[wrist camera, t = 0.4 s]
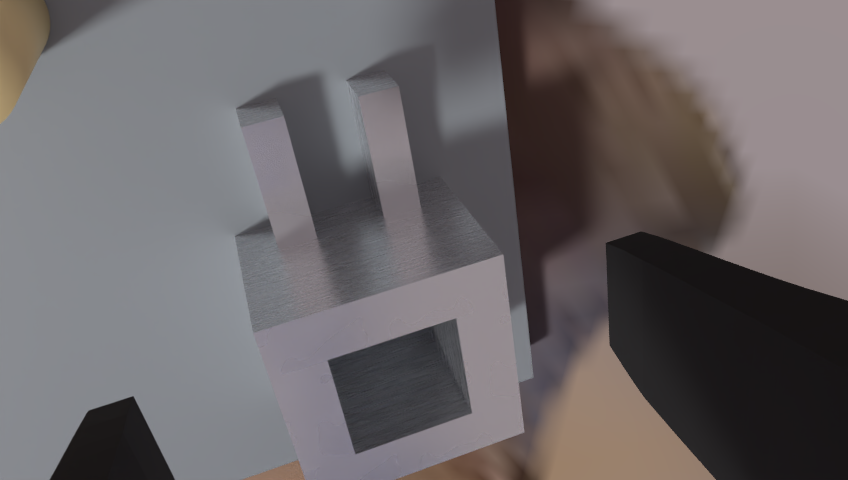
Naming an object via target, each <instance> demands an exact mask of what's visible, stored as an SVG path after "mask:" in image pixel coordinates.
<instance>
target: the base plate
mask: <svg viewBox="0 0 848 480" xmlns="http://www.w3.org/2000/svg"><path fill="white" fill-rule="evenodd" d="M380 71H385V72H386V73H387V74H388V75H389V76H390V77H391V78H392V79H393V80H394V81H395V82H396V83H397V85H398V86H399V90H400V95H401V101H402V106H403V112H404V117H405V123H406V128H407V134H408V139H409V145H410V150H411V156H412V161H413V167H414V172H415V178H416V183H420V182H424V181H427V180H431V179H434V178H438V177H441V178H442V179H443V180H444V182H445V183H446V184H447V185H448V187H449V188H450V189H451V190H452V191H453V193H454V194H455V195H456V196H457V198H458V199H459V200H460V201H461V203H462V204H463V205H464V206H465V208H466V209H467V210H468V211H469V212H470V214H471V215H472V216H473V217H474V219H475V220H476V221H477V222H478V224H479V225H480V226H481V227H482V229H483V230H484V231H485V232H486V234H487V235H488V236H489V237H490V238H491V240H492V241H493V242H494V243H495V245H496V246H497V247H498V248H499V250H500V251H501V252H502V253H503V256H504V264H505V273H506V281H507V290H508V298H509V307H510V315H511V324H512V332H513V341H514V349H515V358H516V366H517V375H518V383H519V382H522V381H524V380H527V379H530V378H533V369H532V359H531V349H530V340H529V330H528V320H527V311H526V301H525V291H524V281H523V272H522V262H521V252H520V242H519V233H518V223H517V213H516V204H515V194H514V184H513V174H512V165H511V155H510V145H509V136H508V126H507V116H506V106H505V97H504V87H503V77H502V67H501V58H500V48H499V38H498V29H497V19H496V9H495V0H0V480H50V478H51V476H52V474H53V473H54V471H55V469H56V467H57V465H58V463H59V462H60V460H61V458H62V456H63V454H64V452H65V451H66V449H67V447H68V445H69V443H70V441H71V440H72V438H73V436H74V434H75V432H76V431H77V429H78V427H79V425H80V424H81V422H82V420H83V419H84V417H85V415H86V413H87V412H88V411H89V410H92V409H95V408H98V407H101V406H104V405H107V404H110V403H113V402H116V401H119V400H123V399H126V398H129V397H132V396H134V398H135V400H136V402H137V404H138V406H139V408H140V410H141V412H142V414H143V416H144V418H145V420H146V422H147V424H148V426H149V428H150V430H151V432H152V434H153V436H154V438H155V440H156V442H157V444H158V446H159V448H160V450H161V452H162V454H163V456H164V458H165V460H166V462H167V464H168V466H169V468H170V470H171V472H172V474H173V476H174V478H175V480H242V479H245V478H248V477H250V476H253V475H256V474H259V473H262V472H265V471H268V470H270V469H273V468H276V467H279V466H282V465H285V464H288V463H290V462H293V461H296V460H298V457H297V454H296V451H295V449H294V446H293V443H292V440H291V437H290V435H289V432H288V429H287V426H286V423H285V421H284V418H283V415H282V412H281V410H280V407H279V404H278V401H277V398H276V396H275V393H274V390H273V387H272V384H271V382H270V379H269V376H268V373H267V370H266V368H265V365H264V362H263V359H262V356H261V354H260V351H259V348H258V345H257V343H256V340H255V337H254V334H253V330H252V325H251V319H250V314H249V309H248V304H247V298H246V293H245V288H244V283H243V278H242V272H241V267H240V262H239V257H238V251H237V246H236V241H235V236H237V235H241V234H244V233H248V232H251V231H255V230H258V229H262V228H265V227H269V226H271V223H270V220H269V216H268V213H267V210H266V207H265V204H264V200H263V197H262V194H261V191H260V187H259V184H258V181H257V178H256V175H255V171H254V168H253V165H252V162H251V158H250V155H249V152H248V149H247V146H246V142H245V139H244V136H243V133H242V130H241V126H240V123H239V119H238V115H237V112H236V108H240V107H244V106H248V105H252V104H256V103H260V102H264V101H267V100H271V99H275V98H276V99H277V102H278V104H279V106H280V108H281V111H282V113H283V115H284V118H285V122H286V126H287V129H288V133H289V136H290V140H291V144H292V147H293V151H294V155H295V158H296V162H297V166H298V169H299V173H300V177H301V180H302V184H303V187H304V191H305V195H306V198H307V202H308V206H309V209H310V213H311V214H313V213H317V212H320V211H324V210H327V209H331V208H334V207H338V206H341V205H345V204H348V203H351V202H355V201H358V200H362V199H365V198H369V197H372V196H371V191H370V187H369V182H368V178H367V173H366V169H365V164H364V160H363V155H362V150H361V146H360V141H359V137H358V132H357V128H356V123H355V119H354V114H353V110H352V105H351V101H350V96H349V92H348V87H347V82H346V80H349V79H353V78H357V77H360V76H364V75H368V74H372V73H376V72H380Z"/></svg>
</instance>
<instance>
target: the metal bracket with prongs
mask: <svg viewBox="0 0 848 480" xmlns="http://www.w3.org/2000/svg"><path fill="white" fill-rule="evenodd" d="M346 82H347V87H348V92H349V96H350V101H351V105H352V110H353V114H354V119H355V123H356V128H357V132H358V137H359V141H360V146H361V150H362V155H363V160H364V164H365V169H366V173H367V178H368V182H369V187H370V191H371V196H372V197H369V198H365V199H362V200H358V201H355V202H351V203H348V204H345V205H341V206H338V207H334V208H331V209H327V210H324V211H320V212H317V213H313V214H311V213H310V209H309V206H308V202H307V198H306V195H305V191H304V187H303V184H302V180H301V177H300V173H299V169H298V166H297V162H296V158H295V155H294V151H293V147H292V144H291V140H290V136H289V133H288V129H287V126H286V122H285V118H284V115H283V113H282V111H281V108H280V106H279V104H278V102H277V99H276V98H275V99H271V100H267V101H264V102H260V103H256V104H252V105H248V106H244V107H240V108H236V112H237V115H238V119H239V123H240V126H241V130H242V133H243V136H244V139H245V142H246V146H247V149H248V152H249V155H250V158H251V162H252V165H253V168H254V171H255V175H256V178H257V181H258V184H259V187H260V191H261V194H262V197H263V200H264V204H265V207H266V210H267V213H268V216H269V220H270V223H271V226H269V227H265V228H262V229H258V230H255V231H251V232H248V233H244V234H241V235H237V236H235V241H236V246H237V251H238V257H239V262H240V267H241V272H242V278H243V283H244V288H245V293H246V298H247V304H248V309H249V314H250V319H251V325H252V330H253V334H254V337H255V340H256V343H257V345H258V348H259V351H260V354H261V356H262V359H263V362H264V365H265V368H266V370H267V373H268V376H269V379H270V382H271V384H272V387H273V390H274V393H275V396H276V398H277V401H278V404H279V407H280V410H281V412H282V415H283V418H284V421H285V423H286V426H287V429H288V432H289V435H290V437H291V440H292V443H293V446H294V449H295V451H296V454H297V457H298V460H299V463H300V465H301V468H302V471H303V474H304V477H305V479H306V480H395V479H397V478H400V477H403V476H406V475H408V474H411V473H414V472H417V471H419V470H422V469H425V468H428V467H430V466H433V465H436V464H439V463H441V462H444V461H447V460H450V459H452V458H455V457H458V456H461V455H463V454H466V453H469V452H472V451H474V450H477V449H480V448H482V447H485V446H488V445H491V444H493V443H496V442H499V441H502V440H504V439H507V438H510V437H513V436H515V435H518V434H521V433H524V426H523V417H522V409H521V400H520V392H519V383H518V375H517V366H516V358H515V349H514V341H513V332H512V324H511V315H510V307H509V298H508V290H507V281H506V273H505V264H504V256H503V253H502V252H501V251H500V250H499V248H498V247H497V246H496V245H495V243H494V242H493V241H492V240H491V238H490V237H489V236H488V235H487V234H486V232H485V231H484V230H483V229H482V227H481V226H480V225H479V224H478V222H477V221H476V220H475V219H474V217H473V216H472V215H471V214H470V212H469V211H468V210H467V209H466V208H465V206H464V205H463V204H462V203H461V201H460V200H459V199H458V198H457V196H456V195H455V194H454V193H453V191H452V190H451V189H450V188H449V187H448V185H447V184H446V183H445V182H444V180H443V179H442V178H441V177H438V178H434V179H431V180H427V181H424V182H420V183H416V178H415V172H414V167H413V161H412V156H411V150H410V145H409V139H408V134H407V128H406V123H405V117H404V112H403V106H402V101H401V95H400V90H399V86H398V85H397V83H396V82H395V81H394V80H393V79H392V78H391V77H390V76H389V75H388V74H387V73H386V72H385V71H380V72H376V73H372V74H368V75H364V76H360V77H357V78H353V79H349V80H346Z"/></svg>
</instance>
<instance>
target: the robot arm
mask: <svg viewBox="0 0 848 480" xmlns="http://www.w3.org/2000/svg"><path fill="white" fill-rule="evenodd" d="M606 259H607V285H608V312H609V338H610V346H611V348H612V350H613V351H614V353H615V354H616V356H617V357H618V359H619V360H620V362H621V363H622V365H623V367H624V368H625V370H626V371H627V372H628V374H629V376H630V377H631V379H632V380H633V382H634V383H635V385H636V386H637V388H638V389H639V390H640V392H641V393H642V395H643V396H644V397H645V399H646V400H647V401H648V402H649V403H650V405H651V406H652V407H653V408H654V409H655V410H656V412H657V413H658V414H659V415H660V416H661V417H662V419H664V421H665V422H666V423H667V424H668V425H669V427H670V428H671V429H672V430H673V431H674V432H675V434H677V436H678V437H679V438H680V439H681V440H682V442H683V443H684V444H685V445H686V446H687V447H688V448H689V449H690V450H691V452H692V453H693V454H694V455H695V456H696V457H697V458H698V460H699V461H701V463H702V464H703V465H704V466H705V468H706V469H707V470H708V471H709V472H710V473H711V474H712V475H713V477H714V478H715V479H716V480H848V301H847V300H844V299H840V298H837V297H833V296H830V295H827V294H824V293H820V292H817V291H813V290H810V289H807V288H804V287H801V286H798V285H794V284H791V283H788V282H785V281H782V280H779V279H776V278H773V277H770V276H767V275H765V274H762V273H759V272H756V271H753V270H750V269H748V268H745V267H742V266H739V265H736V264H733V263H731V262H728V261H725V260H723V259H720V258H717V257H714V256H712V255H709V254H706V253H703V252H701V251H698V250H695V249H692V248H690V247H687V246H684V245H681V244H678V243H676V242H673V241H670V240H667V239H664V238H661V237H658V236H655V235H651V234H648V233H645V232H638V233H635V234H632V235H629V236H626V237H623V238H620V239H617V240H614V241H610V242H607V243H606ZM50 480H175V478H174V476H173V474H172V472H171V470H170V468H169V466H168V464H167V462H166V460H165V458H164V456H163V454H162V452H161V450H160V448H159V446H158V444H157V442H156V440H155V438H154V436H153V434H152V432H151V430H150V428H149V426H148V424H147V422H146V420H145V418H144V416H143V414H142V412H141V410H140V408H139V406H138V404H137V402H136V400H135V398H134V396H132V397H129V398H126V399H123V400H119V401H116V402H113V403H110V404H107V405H104V406H101V407H98V408H95V409H92V410H89V411H88V412H87V413H86V415H85V417H84V419H83V420H82V422H81V424H80V425H79V427H78V429H77V431H76V432H75V434H74V436H73V438H72V440H71V441H70V443H69V445H68V447H67V449H66V451H65V452H64V454H63V456H62V458H61V460H60V462H59V463H58V465H57V467H56V469H55V471H54V473H53V474H52V476H51V478H50Z"/></svg>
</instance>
